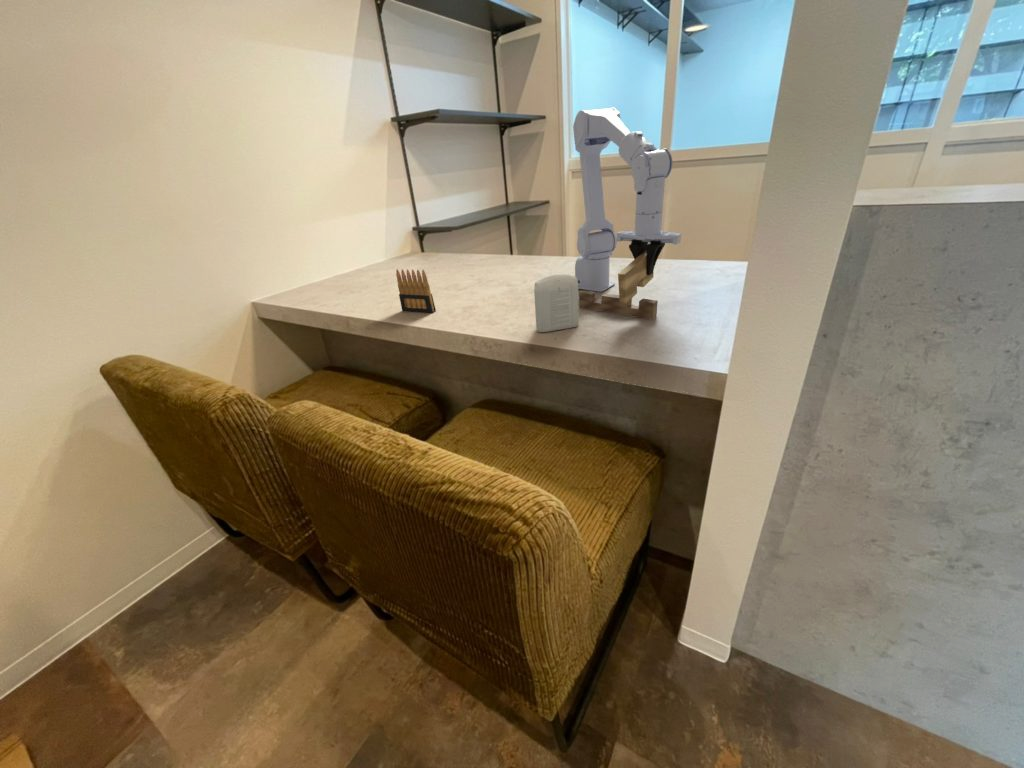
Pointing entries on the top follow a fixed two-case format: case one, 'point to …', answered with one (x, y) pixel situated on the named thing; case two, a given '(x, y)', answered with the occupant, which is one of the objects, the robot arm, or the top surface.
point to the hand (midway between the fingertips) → (645, 273)
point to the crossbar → (633, 278)
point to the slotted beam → (618, 305)
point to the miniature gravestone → (556, 303)
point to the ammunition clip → (415, 292)
